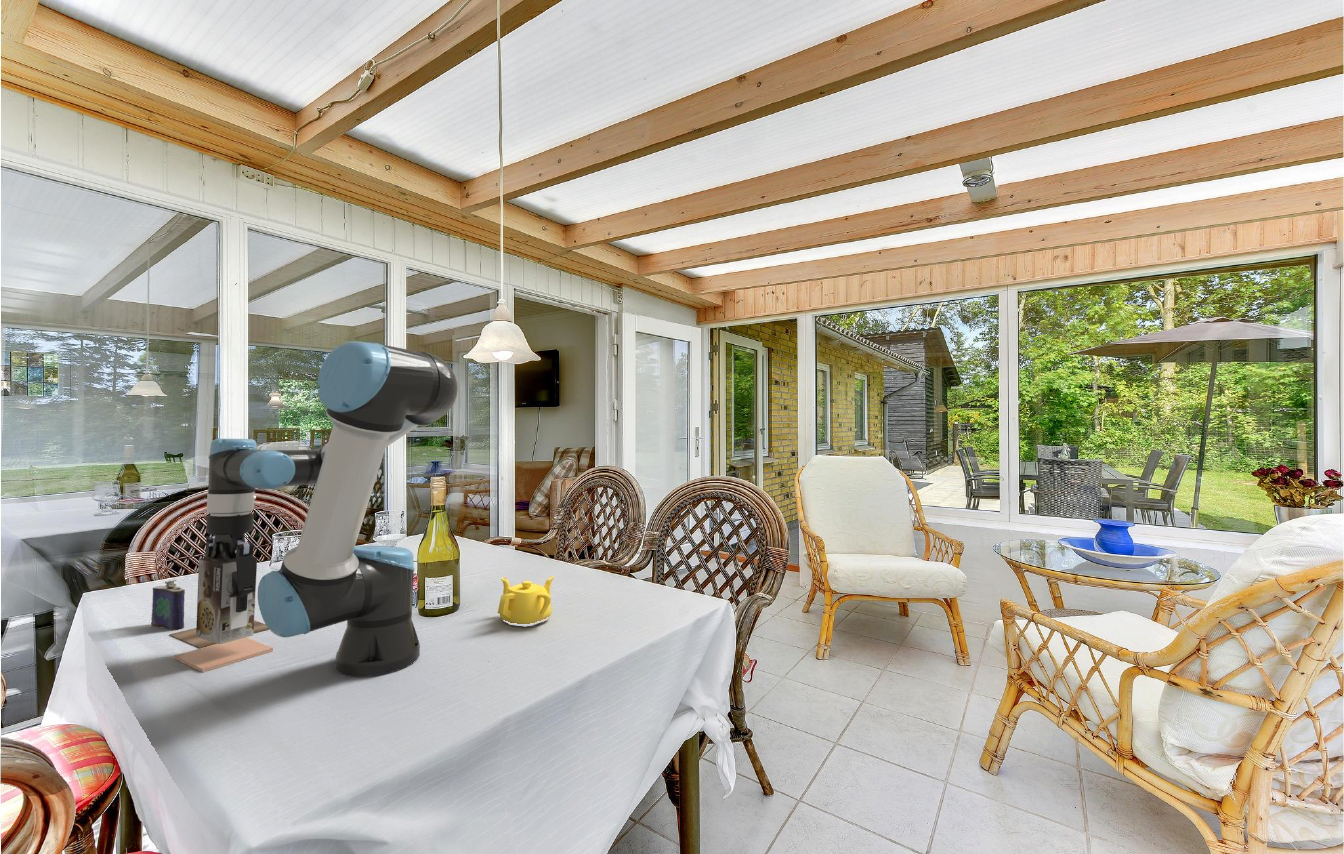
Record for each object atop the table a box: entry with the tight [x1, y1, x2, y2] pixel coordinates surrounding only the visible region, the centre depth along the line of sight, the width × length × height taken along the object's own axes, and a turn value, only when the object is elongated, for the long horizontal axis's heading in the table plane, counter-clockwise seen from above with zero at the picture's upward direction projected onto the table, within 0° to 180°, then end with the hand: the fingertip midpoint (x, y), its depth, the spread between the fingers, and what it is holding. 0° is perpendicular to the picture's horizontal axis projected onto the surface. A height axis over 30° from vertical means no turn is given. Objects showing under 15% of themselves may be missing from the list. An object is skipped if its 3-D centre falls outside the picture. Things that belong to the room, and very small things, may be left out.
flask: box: [150, 579, 186, 631], centre depth 125 cm, size 9×3×11 cm, turn 71°
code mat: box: [169, 619, 270, 649], centre depth 122 cm, size 14×14×1 cm
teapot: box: [497, 575, 556, 624], centre depth 135 cm, size 14×13×10 cm
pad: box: [173, 637, 274, 673], centre depth 110 cm, size 12×12×1 cm
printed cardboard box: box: [195, 556, 258, 644], centre depth 110 cm, size 9×6×16 cm
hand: (225, 622), depth 110 cm, fingers closed on printed cardboard box, 9 cm apart
